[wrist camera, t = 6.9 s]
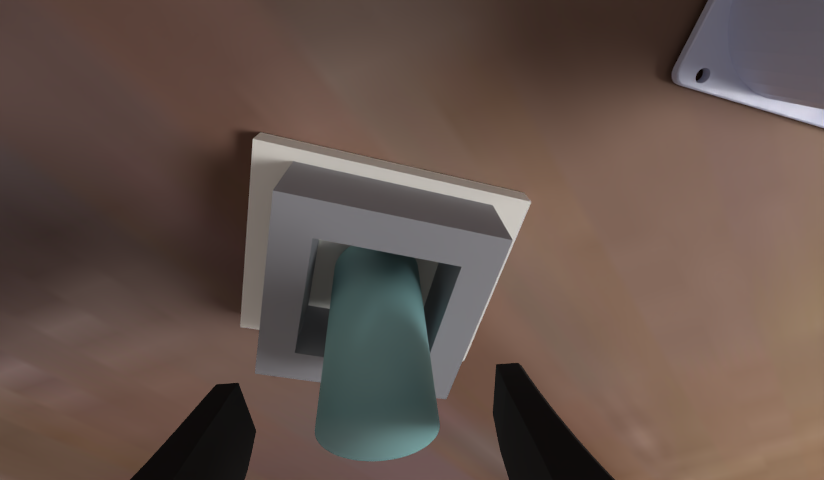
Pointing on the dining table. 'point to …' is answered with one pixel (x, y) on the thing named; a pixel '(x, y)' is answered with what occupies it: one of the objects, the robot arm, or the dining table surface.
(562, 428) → the robot arm
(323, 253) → the socket block
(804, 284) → the dining table surface
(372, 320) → the dowel
